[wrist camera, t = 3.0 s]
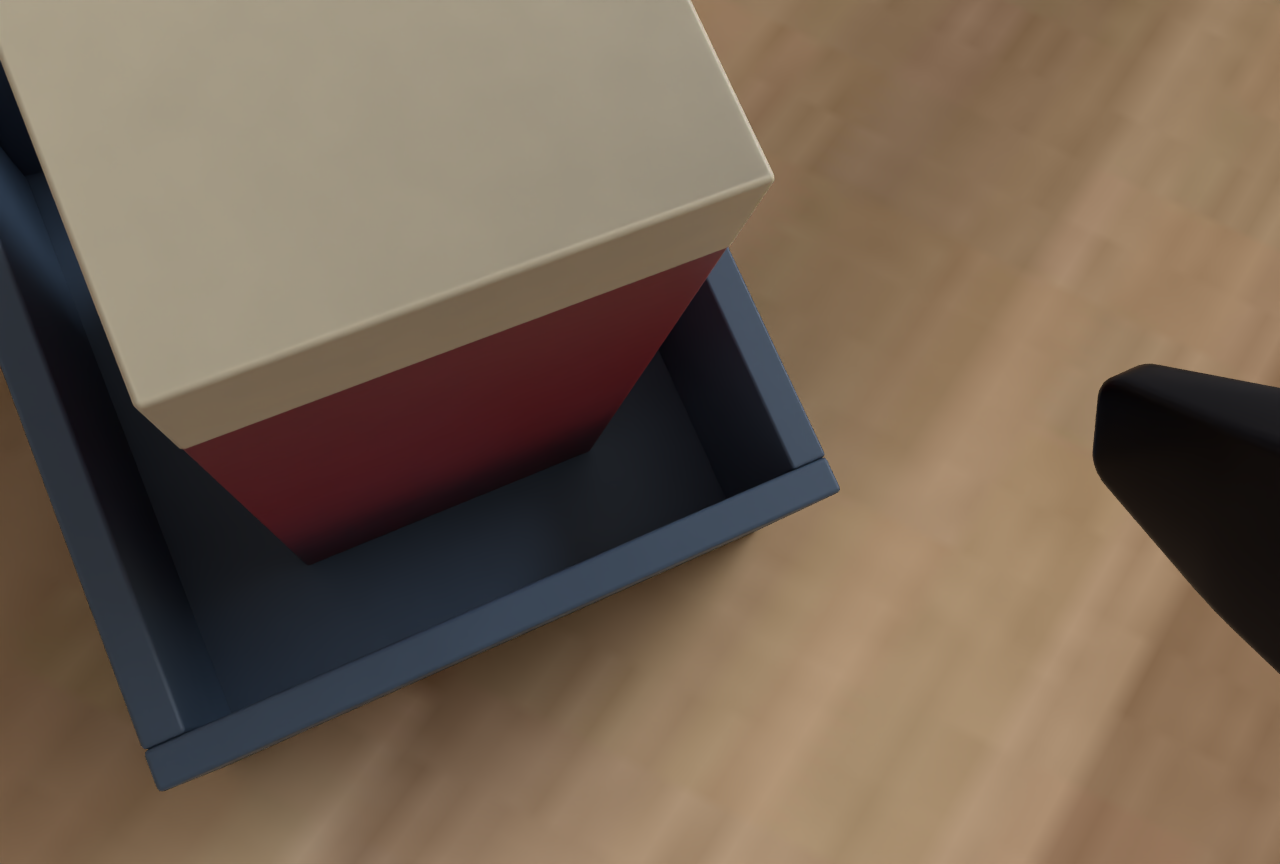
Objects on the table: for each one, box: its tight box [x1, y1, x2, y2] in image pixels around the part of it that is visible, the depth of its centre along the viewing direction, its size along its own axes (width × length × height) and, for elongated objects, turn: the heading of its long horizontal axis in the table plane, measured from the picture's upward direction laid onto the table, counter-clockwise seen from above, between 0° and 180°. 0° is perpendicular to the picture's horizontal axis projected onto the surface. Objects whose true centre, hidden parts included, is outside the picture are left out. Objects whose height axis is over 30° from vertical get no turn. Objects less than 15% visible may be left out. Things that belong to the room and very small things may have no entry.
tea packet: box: [0, 0, 774, 565], centre depth 15 cm, size 6×6×12 cm
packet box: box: [0, 61, 840, 791], centre depth 19 cm, size 12×11×5 cm
